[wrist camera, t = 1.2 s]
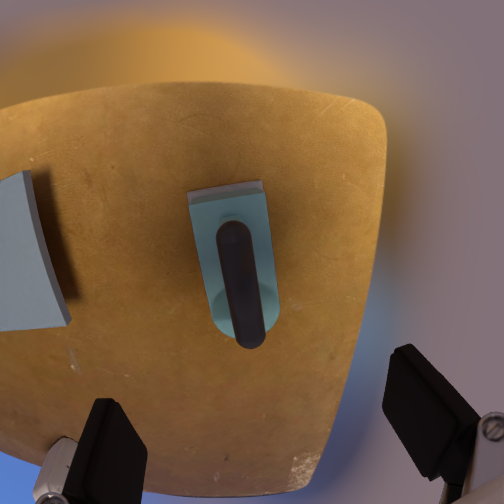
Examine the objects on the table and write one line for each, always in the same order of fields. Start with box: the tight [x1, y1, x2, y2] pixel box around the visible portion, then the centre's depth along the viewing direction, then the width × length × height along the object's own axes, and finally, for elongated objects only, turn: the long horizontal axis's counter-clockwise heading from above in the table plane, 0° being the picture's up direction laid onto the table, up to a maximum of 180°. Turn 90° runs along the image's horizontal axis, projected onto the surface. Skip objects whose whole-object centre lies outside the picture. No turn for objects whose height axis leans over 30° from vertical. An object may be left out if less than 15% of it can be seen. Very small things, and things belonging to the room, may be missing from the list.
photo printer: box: [33, 438, 78, 501], centre depth 27 cm, size 10×4×12 cm, turn 134°
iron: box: [187, 180, 280, 349], centre depth 21 cm, size 12×6×9 cm, turn 8°
